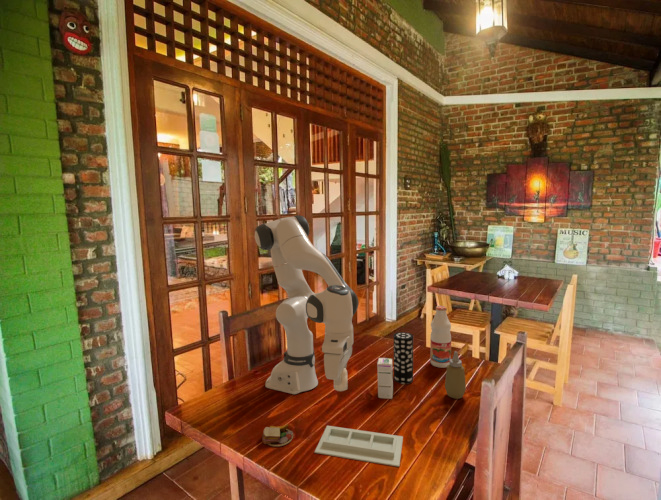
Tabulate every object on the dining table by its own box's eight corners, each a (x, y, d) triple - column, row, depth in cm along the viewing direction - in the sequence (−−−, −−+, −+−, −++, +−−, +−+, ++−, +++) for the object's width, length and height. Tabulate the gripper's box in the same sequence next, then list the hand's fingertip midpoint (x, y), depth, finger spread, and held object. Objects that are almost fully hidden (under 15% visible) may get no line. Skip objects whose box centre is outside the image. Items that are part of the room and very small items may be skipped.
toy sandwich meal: (291, 448, 116) (291, 437, 116) (260, 449, 116) (259, 438, 115) (294, 430, 125) (294, 420, 125) (264, 431, 125) (264, 421, 125)
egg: (332, 390, 114) (331, 369, 113) (335, 383, 118) (335, 363, 117) (345, 391, 113) (345, 370, 112) (349, 385, 117) (348, 364, 116)
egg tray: (314, 452, 113) (314, 446, 113) (327, 426, 126) (327, 421, 126) (399, 466, 106) (399, 460, 106) (403, 437, 119) (403, 431, 119)
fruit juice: (447, 359, 179) (448, 304, 175) (453, 368, 169) (454, 309, 166) (428, 359, 179) (428, 304, 176) (432, 368, 170) (433, 309, 167)
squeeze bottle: (447, 388, 151) (447, 346, 149) (467, 393, 146) (468, 350, 144) (442, 397, 144) (442, 353, 142) (463, 402, 140) (464, 357, 138)
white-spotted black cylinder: (393, 383, 156) (392, 338, 154) (394, 374, 164) (394, 331, 162) (412, 384, 154) (413, 339, 152) (413, 376, 162) (413, 332, 160)
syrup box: (392, 399, 143) (392, 364, 142) (377, 398, 144) (377, 363, 143) (393, 392, 149) (392, 358, 147) (378, 390, 150) (378, 357, 148)
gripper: (338, 326, 124) (339, 365, 126) (320, 349, 105) (321, 394, 106) (356, 327, 123) (356, 366, 124) (341, 350, 103) (342, 397, 105)
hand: (340, 379), depth 115 cm, fingers closed on egg, 4 cm apart
